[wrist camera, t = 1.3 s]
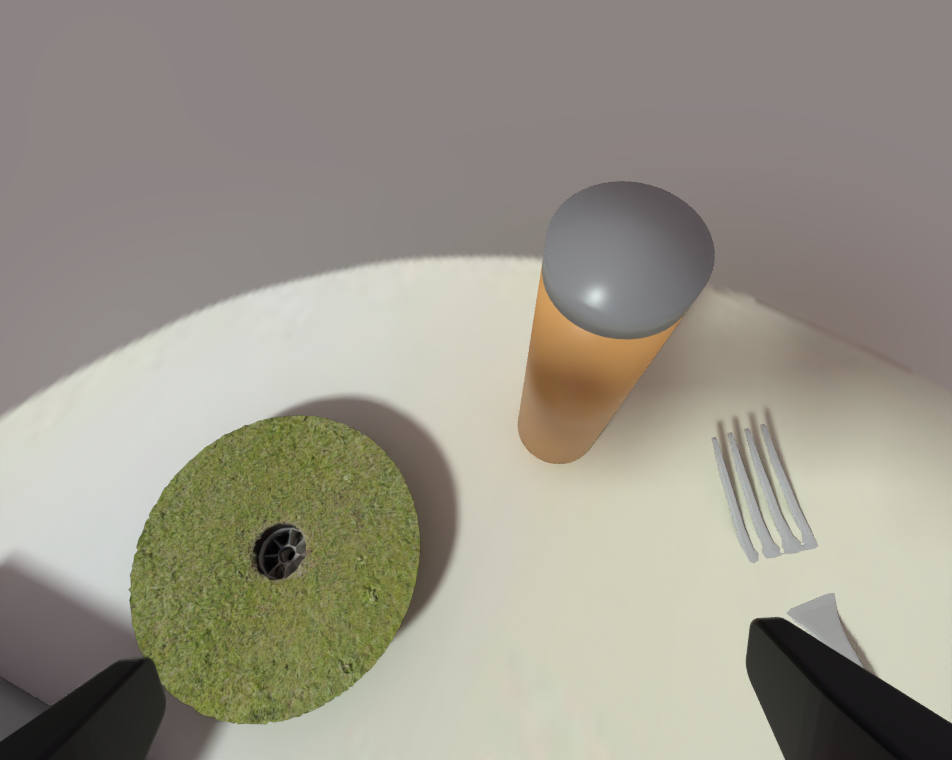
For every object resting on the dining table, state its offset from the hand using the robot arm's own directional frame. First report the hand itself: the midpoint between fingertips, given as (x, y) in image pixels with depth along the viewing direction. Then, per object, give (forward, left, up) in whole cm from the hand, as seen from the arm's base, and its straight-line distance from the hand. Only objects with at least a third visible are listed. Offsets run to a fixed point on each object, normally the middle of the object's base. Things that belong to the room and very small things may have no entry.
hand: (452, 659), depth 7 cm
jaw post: (0, -9, -13) cm, 16 cm away
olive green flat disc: (+8, +1, -14) cm, 16 cm away
